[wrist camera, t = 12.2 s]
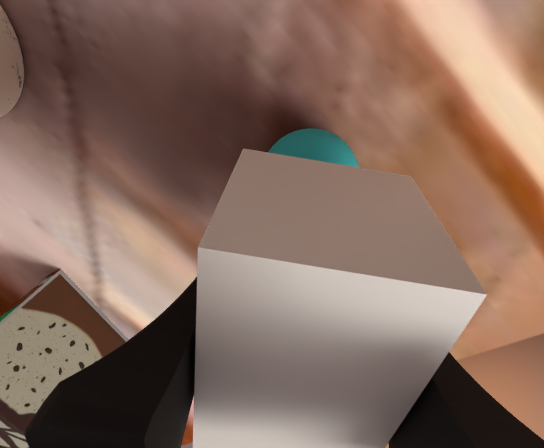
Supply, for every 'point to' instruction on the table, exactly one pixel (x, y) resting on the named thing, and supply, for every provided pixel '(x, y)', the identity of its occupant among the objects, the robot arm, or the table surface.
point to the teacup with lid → (9, 66)
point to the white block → (321, 305)
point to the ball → (315, 147)
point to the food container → (47, 349)
